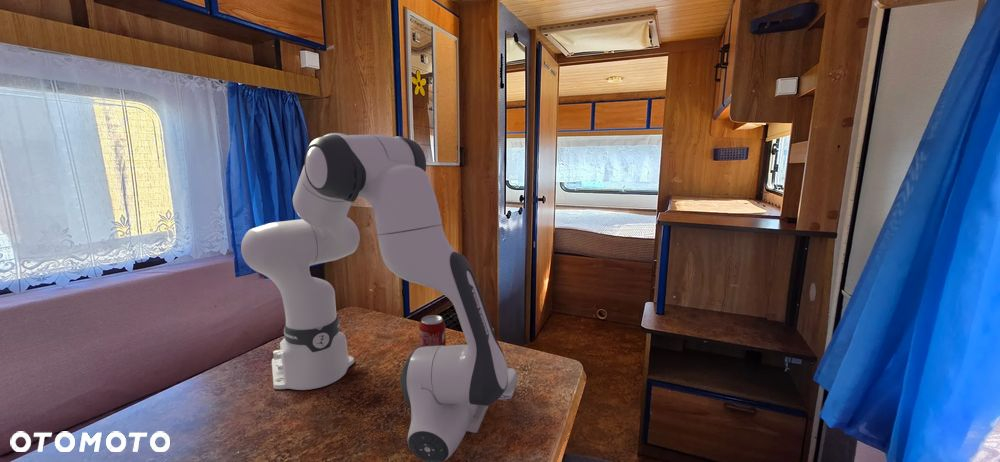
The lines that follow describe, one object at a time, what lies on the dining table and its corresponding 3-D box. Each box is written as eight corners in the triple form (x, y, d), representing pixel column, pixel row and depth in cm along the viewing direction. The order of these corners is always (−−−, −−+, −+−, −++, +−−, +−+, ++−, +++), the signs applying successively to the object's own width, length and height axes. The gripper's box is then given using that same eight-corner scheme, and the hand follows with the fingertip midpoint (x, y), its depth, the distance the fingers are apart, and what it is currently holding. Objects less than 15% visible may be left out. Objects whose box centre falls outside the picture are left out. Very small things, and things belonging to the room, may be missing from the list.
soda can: (440, 369, 100) (439, 325, 98) (415, 366, 102) (414, 323, 99) (449, 356, 107) (448, 315, 104) (425, 354, 108) (424, 313, 106)
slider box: (476, 433, 77) (476, 423, 77) (438, 426, 79) (438, 416, 79) (504, 370, 100) (504, 362, 100) (474, 366, 102) (474, 358, 102)
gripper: (510, 386, 75) (523, 352, 89) (412, 372, 80) (438, 342, 93) (510, 415, 77) (522, 378, 90) (413, 400, 81) (439, 366, 94)
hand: (479, 359), depth 92 cm, fingers closed, pressing on slider knob
